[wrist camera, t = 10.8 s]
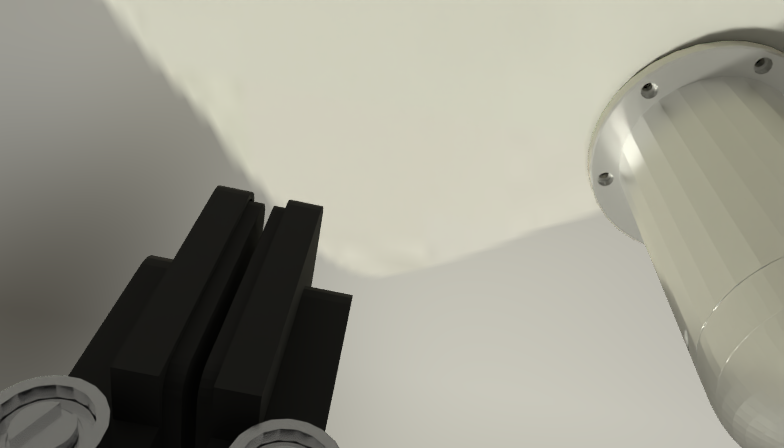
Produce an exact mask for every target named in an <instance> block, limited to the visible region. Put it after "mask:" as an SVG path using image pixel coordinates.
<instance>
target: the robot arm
mask: <svg viewBox="0 0 784 448" xmlns="http://www.w3.org/2000/svg"><path fill="white" fill-rule="evenodd" d="M759 59H761V61H760V62H759V63H757V64H755V63H756V62H757V61H758V60H759ZM648 83H650V86H649V87H647V88H642V87H643V86H644V85H645V84H648ZM605 172H606V173H605ZM588 173H589V178H590V183H591V188H592V190H593V193H594V195H595V198H596V201H597V203H598V205H599V207H600V208H601V210H602V211H603V213H604V215H605V216H606V218H607V219H608V220H609V221H610V222H611V223H612V224H613V225H614V226H615V227H616V228H617V229H618V230H620V231H621V232H623V233H624V234H626V235H627V236H629V237H630V238H632V239H633V240H636V241H638V242H641V243H643V244H645V246H646V248H647V250H648V253H649V255H650V258H651V260H652V263H653V265H654V267H655V270H656V273H657V275H658V277H659V280H660V282H661V285H662V287H663V290H664V292H665V295H666V297H667V300H668V302H669V304H670V307H671V309H672V312H673V314H674V317H675V319H676V322H677V324H678V326H679V329H680V331H681V333H682V336H683V339H684V341H685V343H686V346H687V348H688V351H689V353H690V356H691V358H692V361H693V363H694V366H695V368H696V370H697V373H698V375H699V378H700V380H701V383H702V385H703V387H704V389H705V392H706V394H707V397H708V399H709V401H710V404H711V406H712V408H713V410H714V411H715V414H716V415H717V417H718V419H719V421H720V422H721V424H722V425H723V426H724V428H725V429H726V431H727V432H728V433H729V435H730V436H731V437H732V438H733V439H734V440H735V441H736V442H737V443H738V444H739V445H740V446H741V447H742V448H784V53H783V52H781V51H778V50H776V49H774V48H772V47H770V46H765V45H761V44H757V43H752V42H747V41H718V42H711V43H704V44H698V45H695V46H692V47H689V48H686V49H682V50H679V51H676V52H674V53H672V54H670V55H668V56H666V57H664V58H662V59H660V60H658V61H656V62H654V63H652V64H650V65H649V66H648V67H646V68H645V69H643V70H642V71H641V72H639V73H638V74H636V75H635V76H634V77H632V78H631V79H630V80H629V81H628V82H627V83H626V84H625V85H624V86H623V87H622V88H621V89H620V90H619V91H618V92H617V93H616V94H615V95H614V97H613V98H612V100H611V101H610V102H609V104H608V105H607V107H606V108H605V109H604V111H603V112H602V114H601V116H600V118H599V120H598V123H597V125H596V127H595V129H594V131H593V134H592V138H591V143H590V147H589V151H588ZM602 173H605V174H603V175H600V174H602ZM264 215H265V204H263V203H258V202H254V193H253V192H249V191H244V190H239V189H235V188H230V187H225V186H217V188H216V189H215V190H214V192H213V194H212V195H211V197H210V199H209V200H208V202H207V204H206V205H205V207H204V209H203V210H202V212H201V214H200V216H199V217H198V219H197V221H196V222H195V224H194V226H193V228H192V229H191V231H190V233H189V234H188V236H187V238H186V239H185V241H184V243H183V244H182V246H181V248H180V249H179V251H178V253H177V254H176V256H175V258H174V259H168V258H162V257H158V256H153V255H151V256H148V257H147V258H146V259H145V260H144V261H143V262H142V264H141V265H140V267H139V268H138V270H137V272H136V273H135V274H134V276H133V278H132V279H131V281H130V282H129V284H128V285H127V287H126V288H125V290H124V291H123V293H122V294H121V296H120V297H119V299H118V300H117V302H116V304H115V305H114V307H113V308H112V310H111V311H110V313H109V314H108V316H107V317H106V319H105V320H104V322H103V323H102V325H101V327H100V328H99V330H98V331H97V333H96V334H95V336H94V337H93V339H92V340H91V342H90V344H89V345H88V346H87V348H86V350H85V351H84V353H83V354H82V356H81V357H80V359H79V360H78V362H77V363H76V365H75V366H74V368H73V370H72V371H71V372H70V374H69V376H63V375H58V376H41V377H37V378H33V379H29V380H25V381H22V382H19V383H17V384H15V385H13V386H11V387H9V388H7V389H5V390H3V391H1V392H0V448H339V447H338V445H337V443H336V442H335V441H334V440H333V439H332V438H331V437H330V436H329V435H328V434H327V433H326V432H325V429H326V424H327V419H328V414H329V410H330V405H331V400H332V395H333V390H334V385H335V380H336V375H337V370H338V365H339V360H340V355H341V350H342V346H343V341H344V335H345V331H346V326H347V321H348V316H349V311H350V306H351V301H352V295H348V294H344V293H338V292H333V291H329V290H324V289H318V288H313V287H311V284H312V279H313V272H314V266H315V260H316V253H317V247H318V241H319V234H320V228H321V222H322V215H323V206H318V205H313V204H308V203H303V202H299V201H294V200H289V201H288V203H287V206H286V208H283V207H278V206H274V207H273V209H272V212H271V214H270V216H269V219H268V221H267V223H266V226H265V228H264V230H263V224H264Z"/></svg>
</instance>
